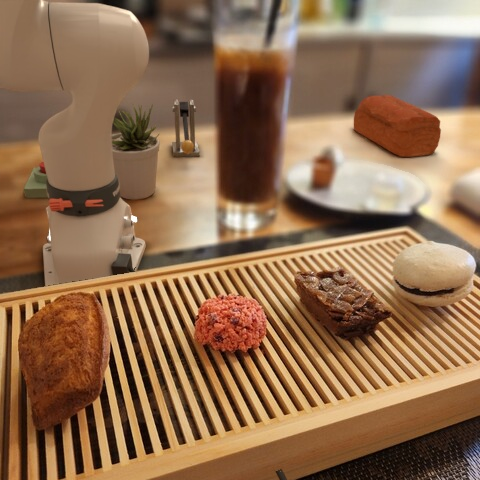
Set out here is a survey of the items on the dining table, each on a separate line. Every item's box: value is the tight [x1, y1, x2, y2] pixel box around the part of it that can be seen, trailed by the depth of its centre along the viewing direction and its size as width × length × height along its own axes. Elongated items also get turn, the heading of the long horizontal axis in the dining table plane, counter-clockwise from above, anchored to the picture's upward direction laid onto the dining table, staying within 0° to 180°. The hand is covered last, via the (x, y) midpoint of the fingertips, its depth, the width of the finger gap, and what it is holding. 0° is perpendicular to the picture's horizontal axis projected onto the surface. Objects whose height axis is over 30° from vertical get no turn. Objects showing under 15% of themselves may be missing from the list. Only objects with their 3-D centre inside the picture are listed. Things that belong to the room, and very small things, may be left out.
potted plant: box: [112, 102, 161, 200], centre depth 101 cm, size 13×14×20 cm
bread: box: [353, 94, 442, 158], centre depth 138 cm, size 16×27×11 cm, turn 21°
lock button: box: [38, 161, 46, 174], centre depth 105 cm, size 4×4×2 cm
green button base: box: [23, 165, 48, 199], centre depth 107 cm, size 12×10×4 cm
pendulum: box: [171, 99, 200, 158], centre depth 124 cm, size 8×7×13 cm
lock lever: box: [178, 101, 194, 154], centre depth 119 cm, size 16×3×3 cm, turn 8°
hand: (28, 22), depth 96 cm, fingers closed
